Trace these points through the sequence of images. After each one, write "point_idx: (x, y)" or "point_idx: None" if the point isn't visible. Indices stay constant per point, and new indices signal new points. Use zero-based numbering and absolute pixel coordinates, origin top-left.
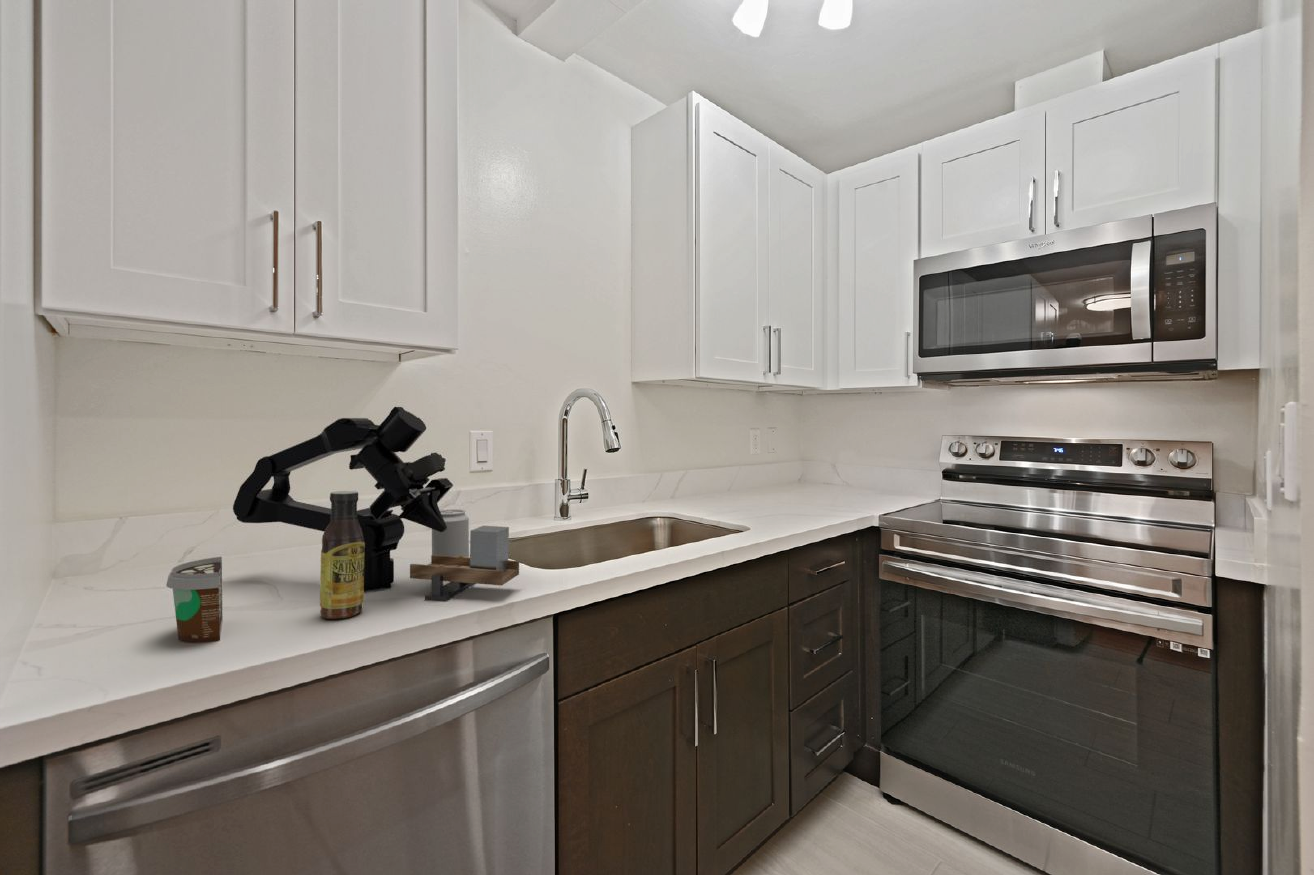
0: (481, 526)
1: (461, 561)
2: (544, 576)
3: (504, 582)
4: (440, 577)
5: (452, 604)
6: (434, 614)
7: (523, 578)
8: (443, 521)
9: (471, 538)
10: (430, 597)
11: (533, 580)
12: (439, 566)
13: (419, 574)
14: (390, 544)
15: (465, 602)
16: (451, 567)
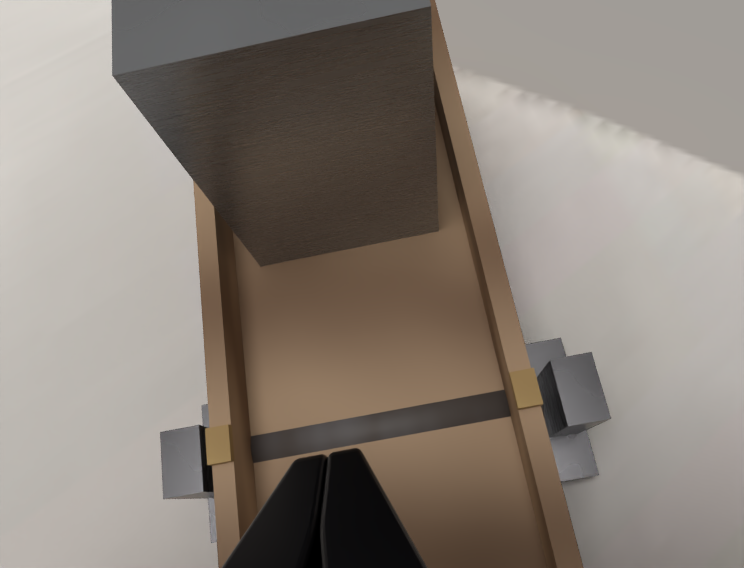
0: (170, 59)
1: (243, 437)
2: (11, 161)
3: None
4: (580, 356)
5: (575, 282)
6: (740, 258)
7: (63, 232)
8: (276, 524)
9: (431, 57)
10: (585, 435)
11: (88, 169)
12: (539, 401)
13: None
14: None
15: (519, 244)
16: (511, 305)
